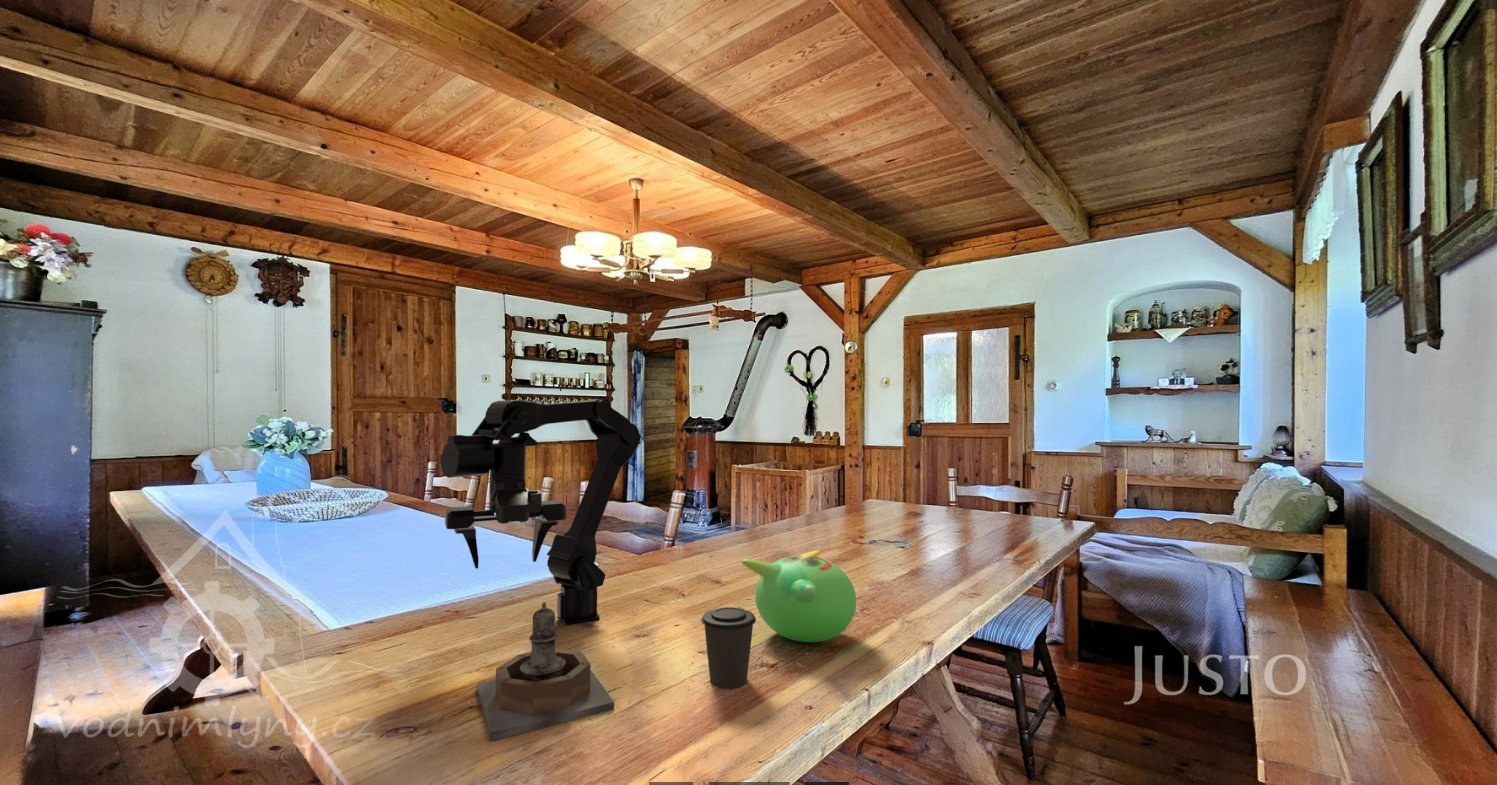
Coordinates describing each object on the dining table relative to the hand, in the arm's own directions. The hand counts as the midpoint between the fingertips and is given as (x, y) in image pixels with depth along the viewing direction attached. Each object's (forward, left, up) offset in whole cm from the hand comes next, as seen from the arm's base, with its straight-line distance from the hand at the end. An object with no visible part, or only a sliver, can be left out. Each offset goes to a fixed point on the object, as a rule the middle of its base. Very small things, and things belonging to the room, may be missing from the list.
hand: (506, 564), depth 101 cm
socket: (-2, +24, -13) cm, 28 cm away
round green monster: (-45, +24, -13) cm, 53 cm away
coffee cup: (-26, +32, -13) cm, 43 cm away
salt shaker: (-2, +24, -12) cm, 27 cm away
